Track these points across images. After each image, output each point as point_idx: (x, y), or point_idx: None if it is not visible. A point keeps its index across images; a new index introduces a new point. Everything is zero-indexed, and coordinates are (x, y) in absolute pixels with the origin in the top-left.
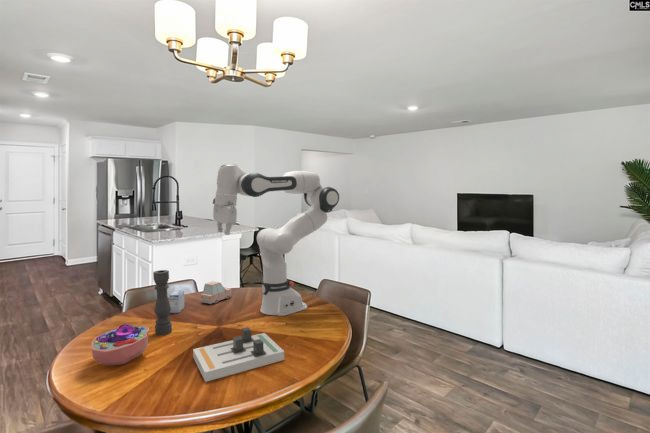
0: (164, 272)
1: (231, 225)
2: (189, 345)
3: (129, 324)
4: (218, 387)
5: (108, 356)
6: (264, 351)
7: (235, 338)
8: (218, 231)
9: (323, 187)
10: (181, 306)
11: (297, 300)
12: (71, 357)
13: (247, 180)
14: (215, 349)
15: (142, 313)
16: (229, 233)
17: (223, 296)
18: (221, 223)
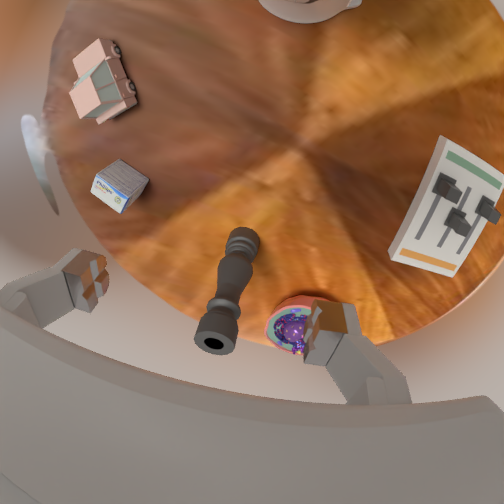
0: (230, 343)
1: (408, 394)
2: (342, 234)
3: (298, 336)
4: (466, 264)
5: None
6: (491, 200)
7: (460, 232)
8: (102, 286)
9: None
10: (132, 173)
11: None
12: (248, 333)
13: None
14: (422, 238)
15: (118, 231)
16: (355, 311)
17: (117, 64)
18: (27, 311)
